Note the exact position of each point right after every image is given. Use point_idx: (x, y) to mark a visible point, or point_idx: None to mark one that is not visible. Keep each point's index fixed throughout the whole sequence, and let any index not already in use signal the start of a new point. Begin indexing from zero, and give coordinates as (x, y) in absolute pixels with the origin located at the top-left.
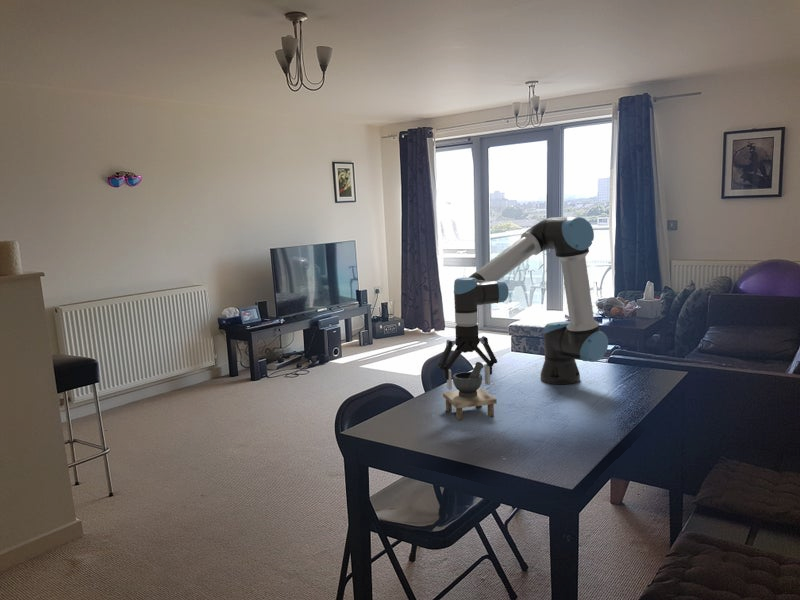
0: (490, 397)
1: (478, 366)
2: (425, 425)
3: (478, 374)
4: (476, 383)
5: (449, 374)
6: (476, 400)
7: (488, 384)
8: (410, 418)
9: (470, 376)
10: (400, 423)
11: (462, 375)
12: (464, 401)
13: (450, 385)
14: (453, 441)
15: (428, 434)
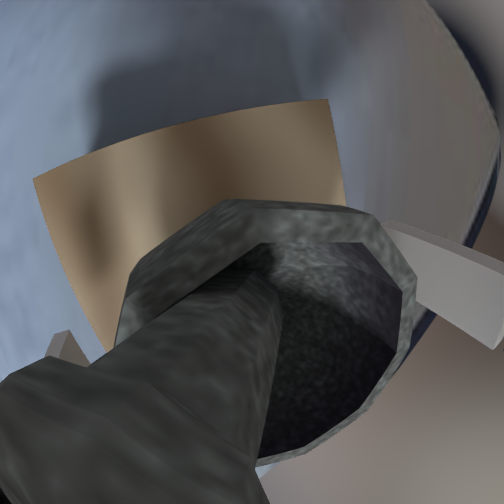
0: (68, 222)
1: (109, 410)
2: (388, 111)
3: (142, 327)
4: (176, 234)
5: (490, 259)
6: (178, 151)
7: (63, 335)
8: (418, 197)
9: (270, 323)
10: (439, 156)
11: (299, 426)
12: (270, 139)
13: (410, 229)
14: None
15: (378, 29)
